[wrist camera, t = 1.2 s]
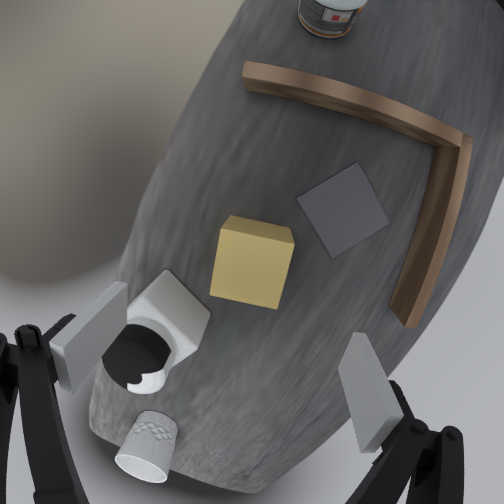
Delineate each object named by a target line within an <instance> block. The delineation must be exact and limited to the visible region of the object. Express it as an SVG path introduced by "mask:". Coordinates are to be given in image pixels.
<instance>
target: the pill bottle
mask: <svg viewBox="0 0 504 504" xmlns="http://www.w3.org/2000/svg"><path fill="white" fill-rule="evenodd" d="M367 1H368V0H300V2H299V8H298V16H299V20H300V22H301V23H302V25H303V26H304V27H305V28H306V29H307V30H308V31H310V32H311V33H313V34H315V35H317V36H320V37H325V38H336V37H341V36H343V35H344V34H346V33H347V32H348V31H349V30H350V29H351V27H352V26H353V24H354V22H355V21H356V19H357V17H358V16H359V14H360V12H361V11H362V9H363V7H364V6H365V4H366V3H367Z"/></svg>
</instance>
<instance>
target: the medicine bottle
mask: <svg viewBox="0 0 504 504" xmlns="http://www.w3.org/2000/svg"><path fill="white" fill-rule="evenodd" d="M210 315H211V314H210V312H209V311H208V310H207V309H206V308H205V307H204V306H203V305H202V304H201V303H200V302H199V301H198V300H197V299H196V298H195V297H194V296H193V295H192V294H191V293H190V292H189V291H188V290H187V289H186V288H185V287H184V286H183V285H182V283H181V282H180V281H179V280H178V279H177V278H176V277H175V276H174V275H173V274H172V273H171V272H170V271H169V270H164V271H163V272H162V273H161V274H160V275H159V276H158V277H157V278H156V279H155V280H154V281H153V282H152V283H151V284H150V285H149V286H148V287H147V288H146V289H145V290H144V291H143V292H142V293H141V294H140V295H139V296H138V297H137V298H136V299H135V300H134V301H133V302H132V303H131V304H130V305H129V306H128V307H127V325H126V326H125V327H124V329H123V330H122V331H121V332H120V334H119V335H118V336H117V337H116V339H115V340H114V341H113V342H112V344H111V345H110V346H109V348H108V349H107V350H106V352H105V353H104V354H103V355H102V361H103V365H104V367H105V369H106V371H107V373H108V374H109V376H110V377H111V378H112V379H113V380H114V381H115V382H116V383H117V384H119V385H120V386H121V387H123V388H125V389H127V390H129V391H131V392H134V393H139V394H149V393H154V392H156V391H158V390H160V389H161V388H162V387H163V385H164V383H165V380H166V378H167V376H168V374H169V371H170V369H171V368H172V367H173V366H175V365H176V364H178V363H179V362H180V361H182V360H183V359H185V358H186V357H188V356H189V355H191V354H192V353H193V352H195V351H196V350H197V349H198V347H199V345H200V342H201V339H202V337H203V334H204V331H205V329H206V326H207V323H208V321H209V318H210Z"/></svg>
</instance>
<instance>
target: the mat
mask: <svg viewBox="0 0 504 504" xmlns="http://www.w3.org/2000/svg"><path fill="white" fill-rule="evenodd" d="M296 199H297V201H298V202H299V204H300V206H301V207H302V209H303V210H304V212H305V214H306V215H307V217H308V219H309V220H310V222H311V224H312V225H313V227H314V229H315V230H316V232H317V234H318V235H319V237H320V239H321V240H322V242H323V244H324V246H325V247H326V249H327V251H328V253H329V254H330V256H331V258H332V259H333V258H334V257H336V256H338V255H339V254H341V253H343V252H344V251H346V250H348V249H349V248H351V247H353V246H354V245H356V244H358V243H359V242H361V241H362V240H364V239H366V238H367V237H369V236H370V235H372V234H374V233H375V232H377V231H378V230H380V229H382V228H383V227H385V226H386V225H388V224H389V221H388V219H387V217H386V214H385V212H384V210H383V208H382V206H381V204H380V202H379V200H378V198H377V196H376V194H375V193H374V191H373V189H372V187H371V185H370V183H369V181H368V179H367V177H366V176H365V174H364V172H363V170H362V168H361V167H360V165H359V163H358V162H356V163H354V164H352V165H351V166H349V167H347V168H346V169H344V170H342V171H341V172H339V173H337V174H336V175H334V176H332V177H331V178H329V179H327V180H326V181H324V182H322V183H321V184H319V185H317V186H316V187H314V188H312V189H311V190H309V191H308V192H306V193H304V194H303V195H301V196H299V197H298V198H296Z"/></svg>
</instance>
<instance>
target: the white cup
mask: <svg viewBox="0 0 504 504" xmlns="http://www.w3.org/2000/svg"><path fill="white" fill-rule="evenodd" d="M177 432H178V427H177V425H176V423H175V422H174V421H173V420H172V419H171V418H170V417H168V416H166V415H164V414H162V413H159V412H156V411H144V412H142V413H140V415H139V416H138V418H137V420H136V422H135V424H134V425H133V427H132V428H131V430H130V432H129V433H128V435H127V436H126V438H125V440H124V442H123V444H122V446H121V448H120V450H119V451H118V453H117V455H116V457H115V461H116V463H117V464H118V466H119V467H120V468H122V469H123V470H124V471H125V472H127V473H129V474H131V475H132V476H134V477H137V478H139V479H141V480H144V481H148V482H154V483H161V482H164V481H166V480H167V476H168V472H169V468H170V464H171V460H172V456H173V452H174V447H175V440H176V436H177Z"/></svg>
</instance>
